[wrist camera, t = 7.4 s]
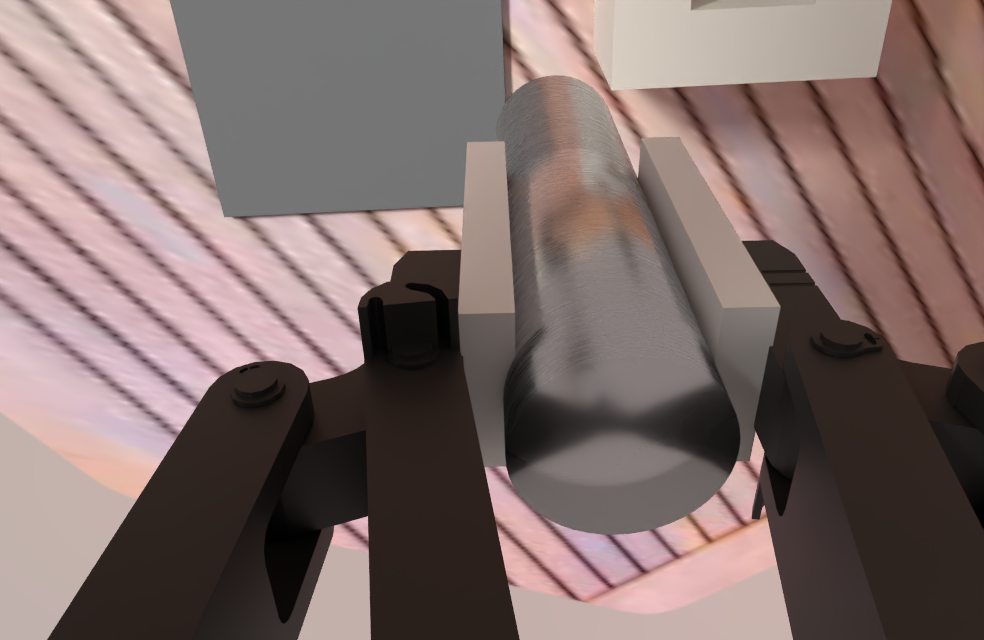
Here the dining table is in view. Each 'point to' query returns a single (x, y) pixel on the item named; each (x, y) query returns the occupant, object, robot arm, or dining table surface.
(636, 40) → the block
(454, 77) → the mat
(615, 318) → the peg
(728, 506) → the dining table surface
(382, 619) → the robot arm
